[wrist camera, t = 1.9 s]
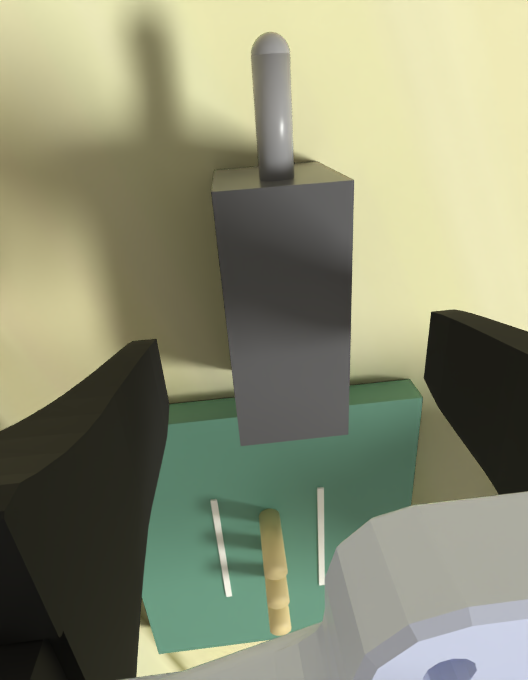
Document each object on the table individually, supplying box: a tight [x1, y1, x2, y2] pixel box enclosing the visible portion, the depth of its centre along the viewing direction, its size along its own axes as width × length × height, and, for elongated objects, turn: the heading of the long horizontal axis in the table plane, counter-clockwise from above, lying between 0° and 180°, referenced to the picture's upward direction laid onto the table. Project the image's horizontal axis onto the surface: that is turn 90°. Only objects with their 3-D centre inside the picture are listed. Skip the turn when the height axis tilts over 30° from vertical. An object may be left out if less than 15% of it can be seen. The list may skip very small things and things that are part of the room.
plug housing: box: [211, 32, 354, 446], centre depth 15 cm, size 4×12×5 cm, turn 4°
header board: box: [142, 379, 423, 654], centre depth 22 cm, size 14×16×4 cm
